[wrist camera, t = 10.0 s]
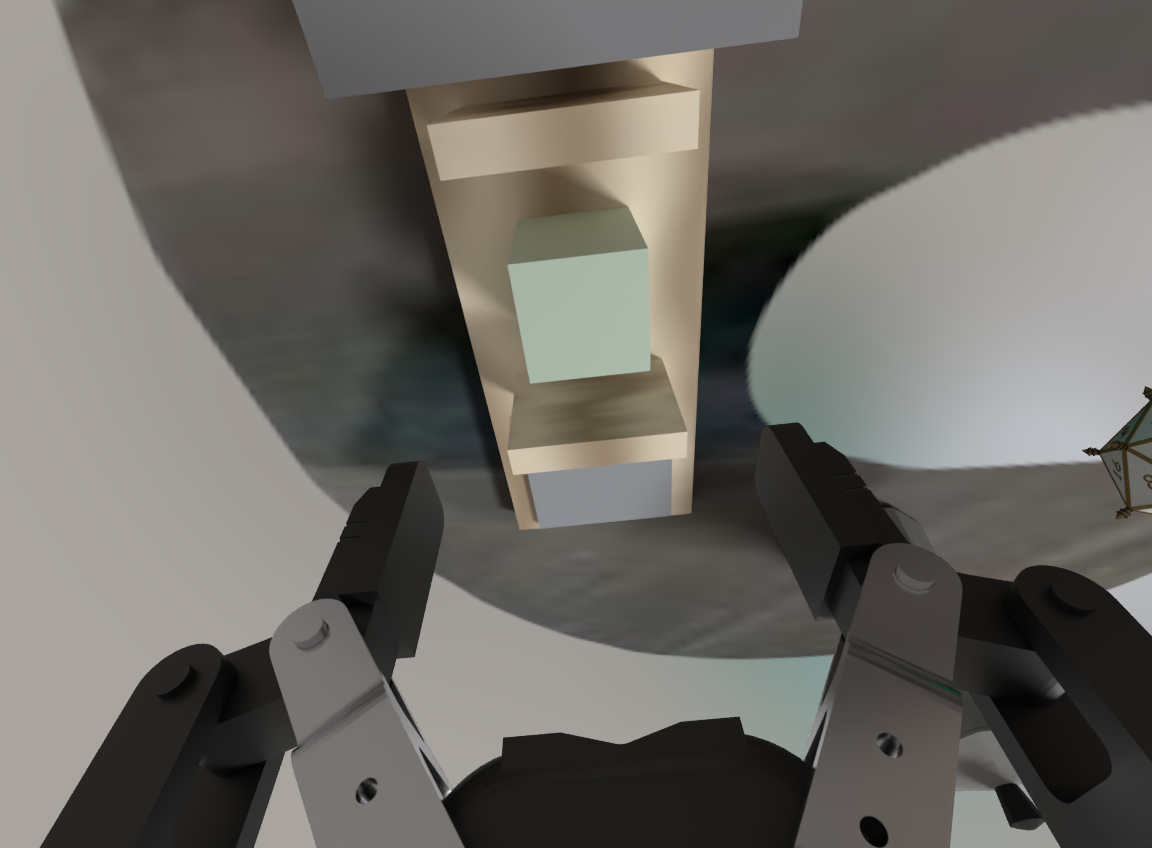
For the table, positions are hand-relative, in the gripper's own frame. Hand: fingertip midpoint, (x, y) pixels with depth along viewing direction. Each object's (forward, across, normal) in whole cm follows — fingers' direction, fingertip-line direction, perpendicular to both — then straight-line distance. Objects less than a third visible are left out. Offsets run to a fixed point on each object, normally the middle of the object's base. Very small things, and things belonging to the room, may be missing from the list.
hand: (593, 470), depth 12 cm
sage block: (+15, 0, 0) cm, 15 cm away
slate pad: (+15, 0, +13) cm, 20 cm away
